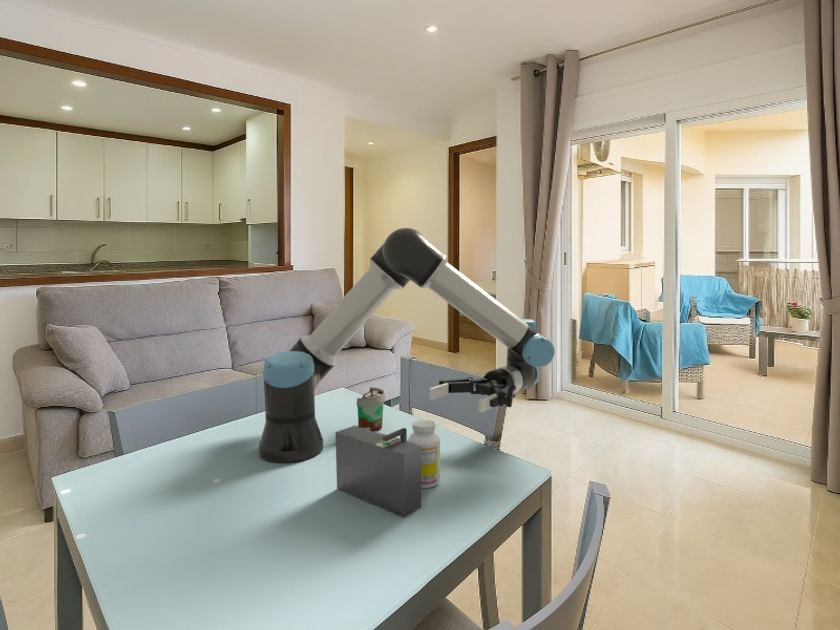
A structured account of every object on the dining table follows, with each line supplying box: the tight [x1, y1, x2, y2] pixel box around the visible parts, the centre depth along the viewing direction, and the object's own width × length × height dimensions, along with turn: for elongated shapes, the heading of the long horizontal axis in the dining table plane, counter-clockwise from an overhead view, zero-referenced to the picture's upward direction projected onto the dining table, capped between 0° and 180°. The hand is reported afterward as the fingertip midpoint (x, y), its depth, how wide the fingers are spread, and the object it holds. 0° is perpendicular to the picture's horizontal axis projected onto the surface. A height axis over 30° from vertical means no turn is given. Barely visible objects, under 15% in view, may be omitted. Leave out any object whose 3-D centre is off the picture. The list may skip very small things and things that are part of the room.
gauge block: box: [335, 425, 422, 518], centre depth 98 cm, size 18×5×12 cm, turn 52°
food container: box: [356, 386, 387, 432], centre depth 138 cm, size 12×6×10 cm, turn 168°
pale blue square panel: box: [375, 427, 413, 443], centre depth 99 cm, size 10×6×12 cm, turn 52°
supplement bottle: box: [407, 419, 441, 489], centre depth 105 cm, size 7×7×13 cm
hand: (454, 400), depth 113 cm, fingers open, 13 cm apart
